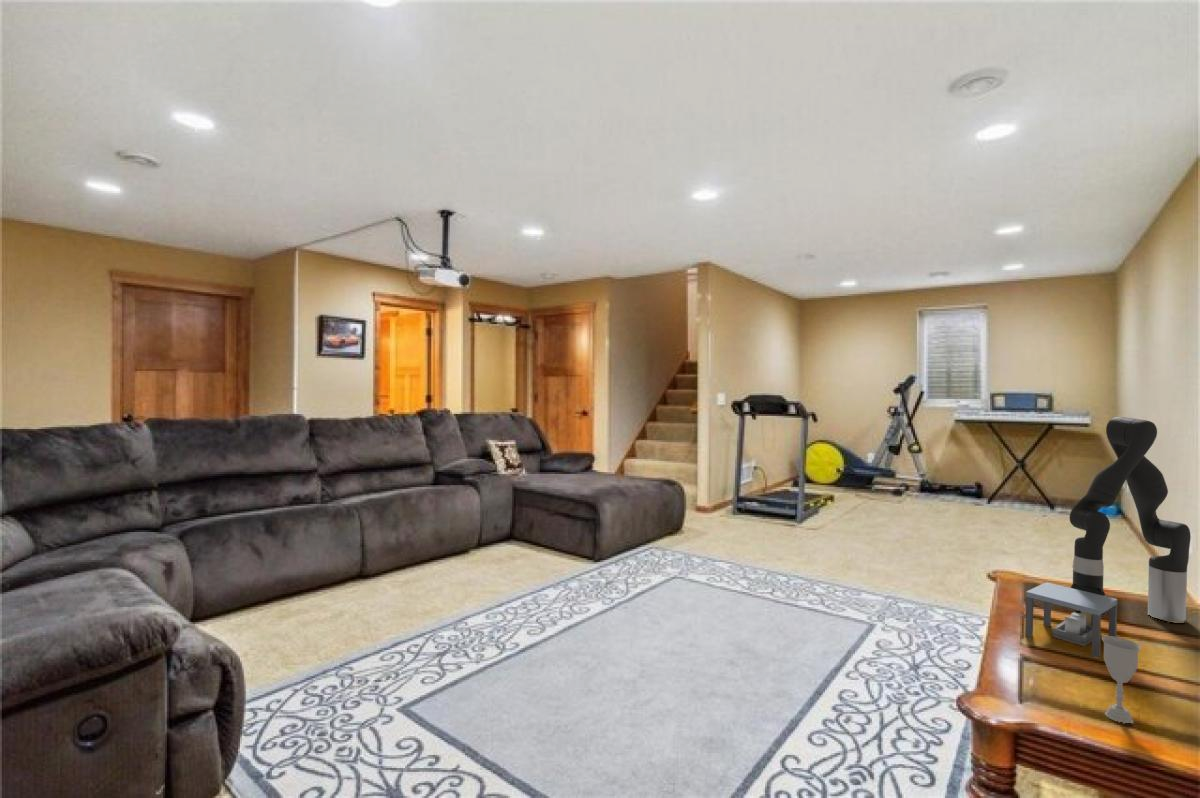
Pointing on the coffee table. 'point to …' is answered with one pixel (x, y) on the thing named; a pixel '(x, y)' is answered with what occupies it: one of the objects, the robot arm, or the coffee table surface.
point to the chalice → (1120, 671)
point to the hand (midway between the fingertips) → (1086, 623)
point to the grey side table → (1075, 601)
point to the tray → (1072, 636)
